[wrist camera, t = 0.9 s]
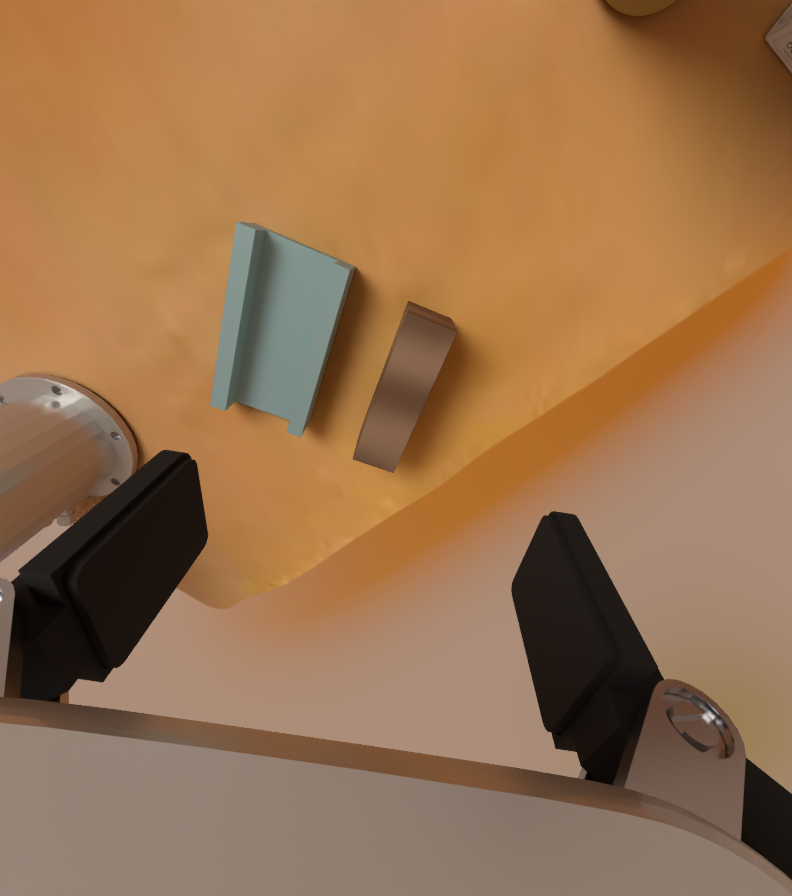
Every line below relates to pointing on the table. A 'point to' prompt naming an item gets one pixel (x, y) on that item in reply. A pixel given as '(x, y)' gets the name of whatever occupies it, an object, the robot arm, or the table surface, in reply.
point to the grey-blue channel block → (278, 324)
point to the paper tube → (639, 6)
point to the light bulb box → (782, 38)
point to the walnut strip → (404, 385)
